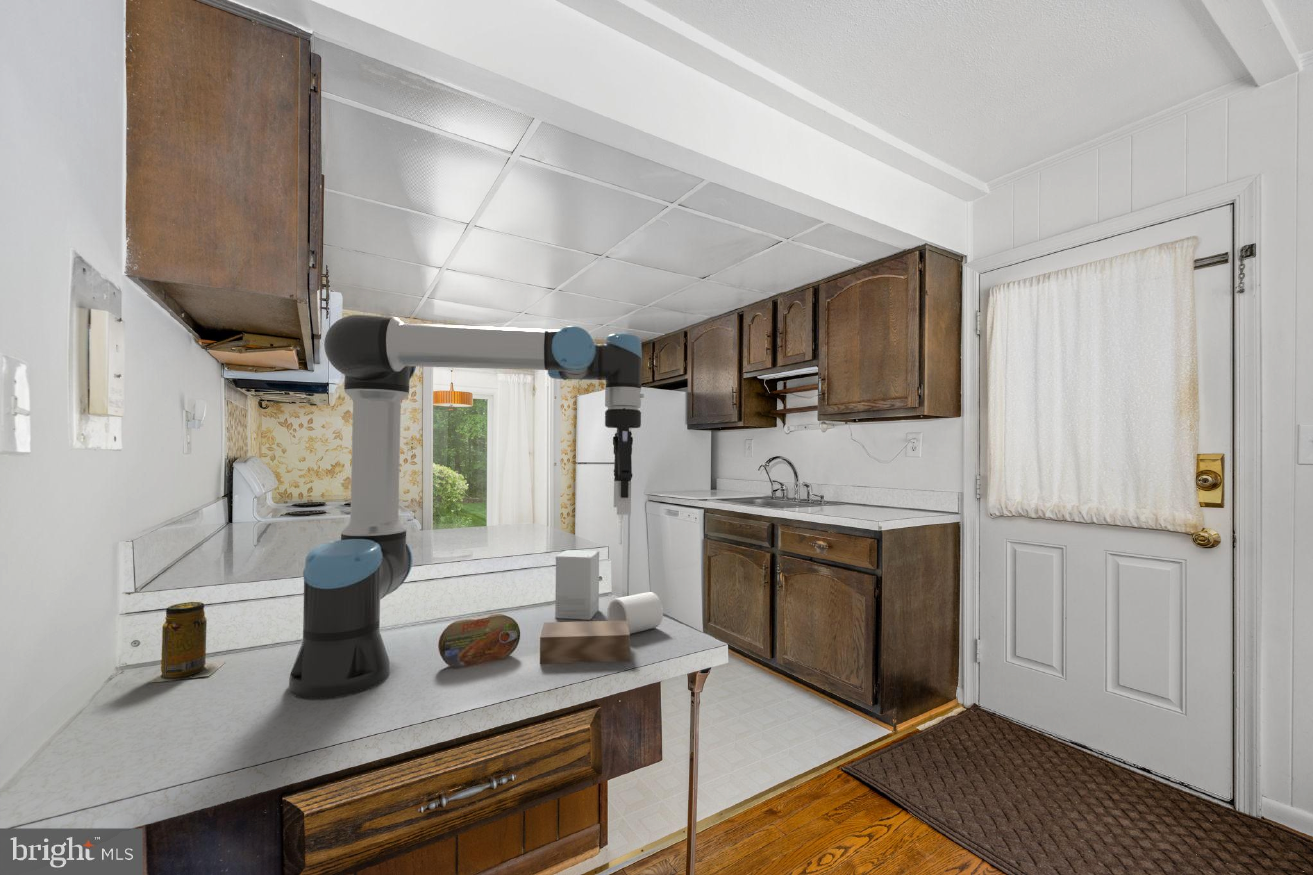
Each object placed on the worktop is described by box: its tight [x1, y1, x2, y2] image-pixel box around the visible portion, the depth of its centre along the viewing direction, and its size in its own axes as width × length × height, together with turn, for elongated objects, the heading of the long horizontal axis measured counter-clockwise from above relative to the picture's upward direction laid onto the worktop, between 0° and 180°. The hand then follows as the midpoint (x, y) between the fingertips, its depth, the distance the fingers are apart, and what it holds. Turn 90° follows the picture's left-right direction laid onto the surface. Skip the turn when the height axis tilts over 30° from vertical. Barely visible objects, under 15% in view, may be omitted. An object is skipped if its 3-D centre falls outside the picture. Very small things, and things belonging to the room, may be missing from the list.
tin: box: [437, 613, 521, 669], centre depth 106 cm, size 15×3×8 cm, turn 123°
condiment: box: [149, 601, 226, 683], centre depth 99 cm, size 7×8×12 cm
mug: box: [606, 591, 664, 635], centre depth 127 cm, size 12×10×8 cm
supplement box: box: [554, 549, 600, 621], centre depth 138 cm, size 9×9×15 cm
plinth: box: [539, 620, 631, 665], centre depth 111 cm, size 17×9×5 cm, turn 97°
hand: (621, 510), depth 116 cm, fingers open, 13 cm apart
